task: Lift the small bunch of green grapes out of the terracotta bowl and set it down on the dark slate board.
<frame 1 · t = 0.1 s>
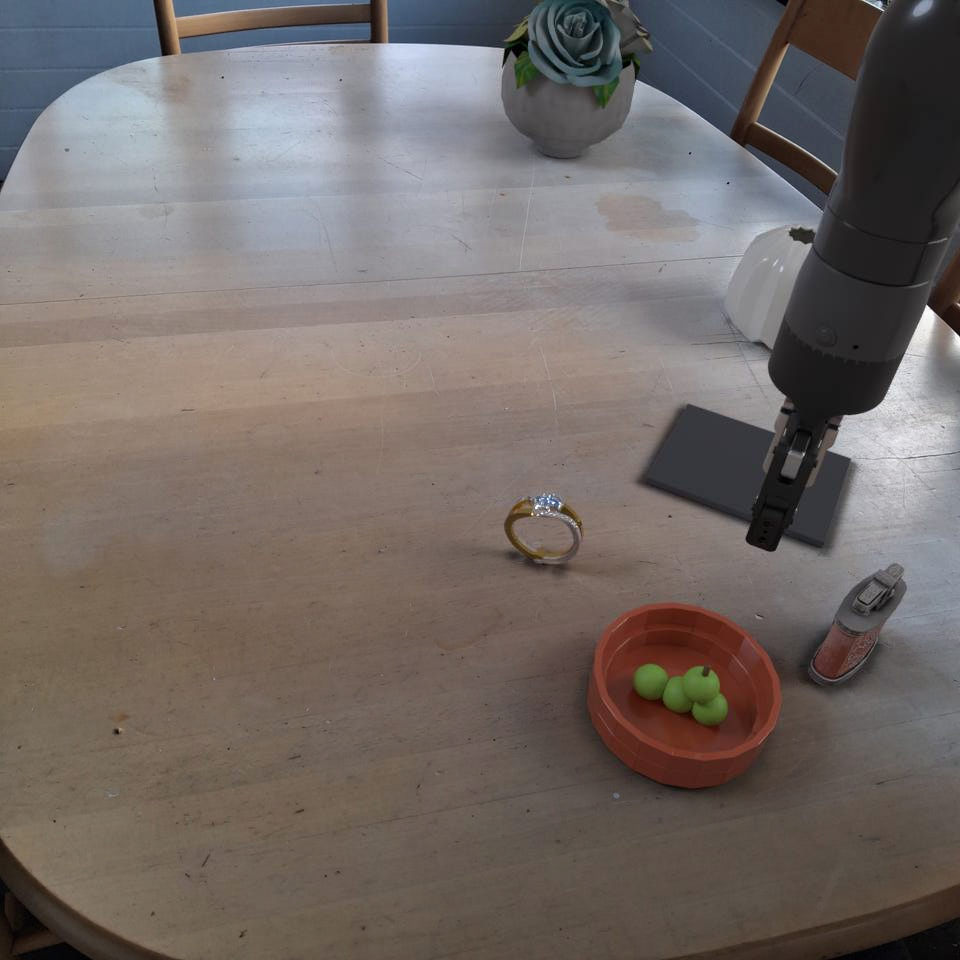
hand: (774, 508, 67), 16 cm above the table, tool pointing down, fingers open, 8 cm apart
flower arrangement: (559, 149, 151), on the table
slate board: (749, 473, 93), on the table
vase: (774, 333, 113), on the table
lighter: (840, 657, 77), on the table
ring: (538, 561, 83), on the table
bowl: (674, 708, 72), on the table
grapes: (676, 704, 72), resting on bowl
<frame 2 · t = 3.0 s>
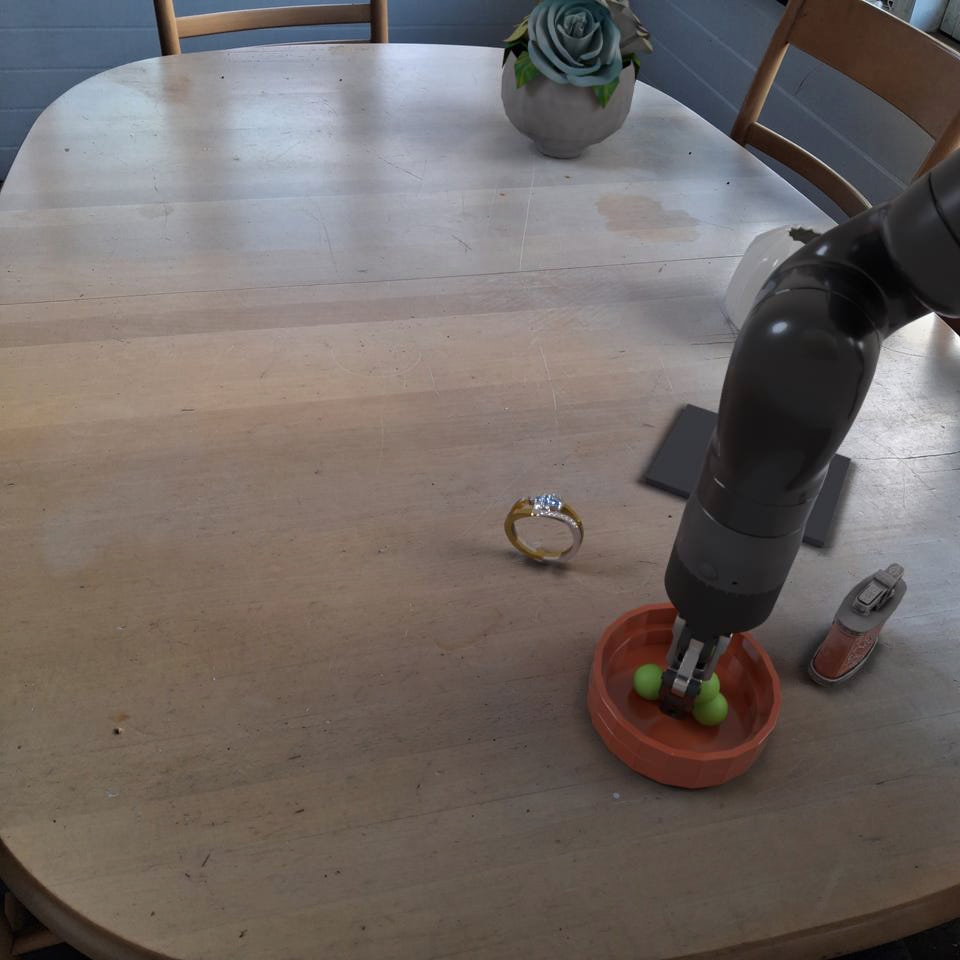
hand: (679, 695, 71), 2 cm above the table, tool pointing down, fingers closed on grapes, 2 cm apart
grapes: (676, 704, 72), resting on bowl, touching gripper
everything else where it was.
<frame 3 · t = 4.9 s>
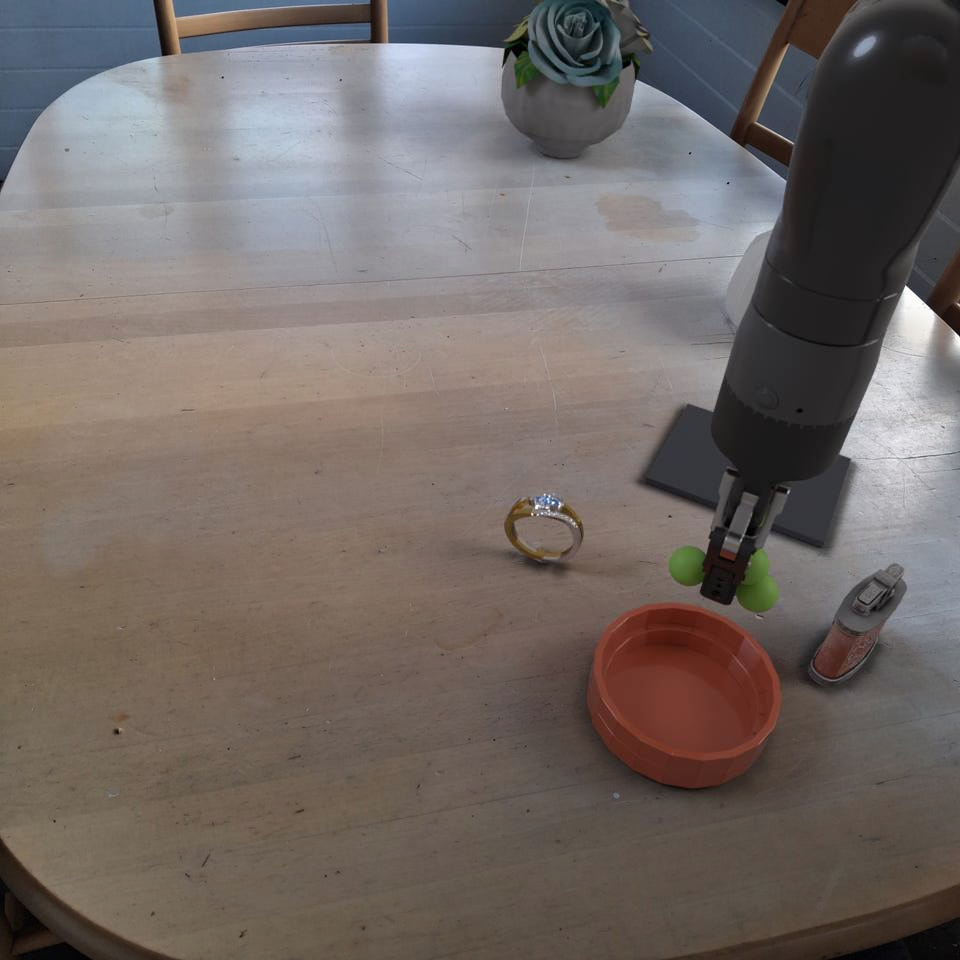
hand: (722, 580, 62), 15 cm above the table, tool pointing down, fingers closed on grapes, 2 cm apart
grapes: (718, 591, 63), point 14 cm above the table, touching gripper
everything else where it was.
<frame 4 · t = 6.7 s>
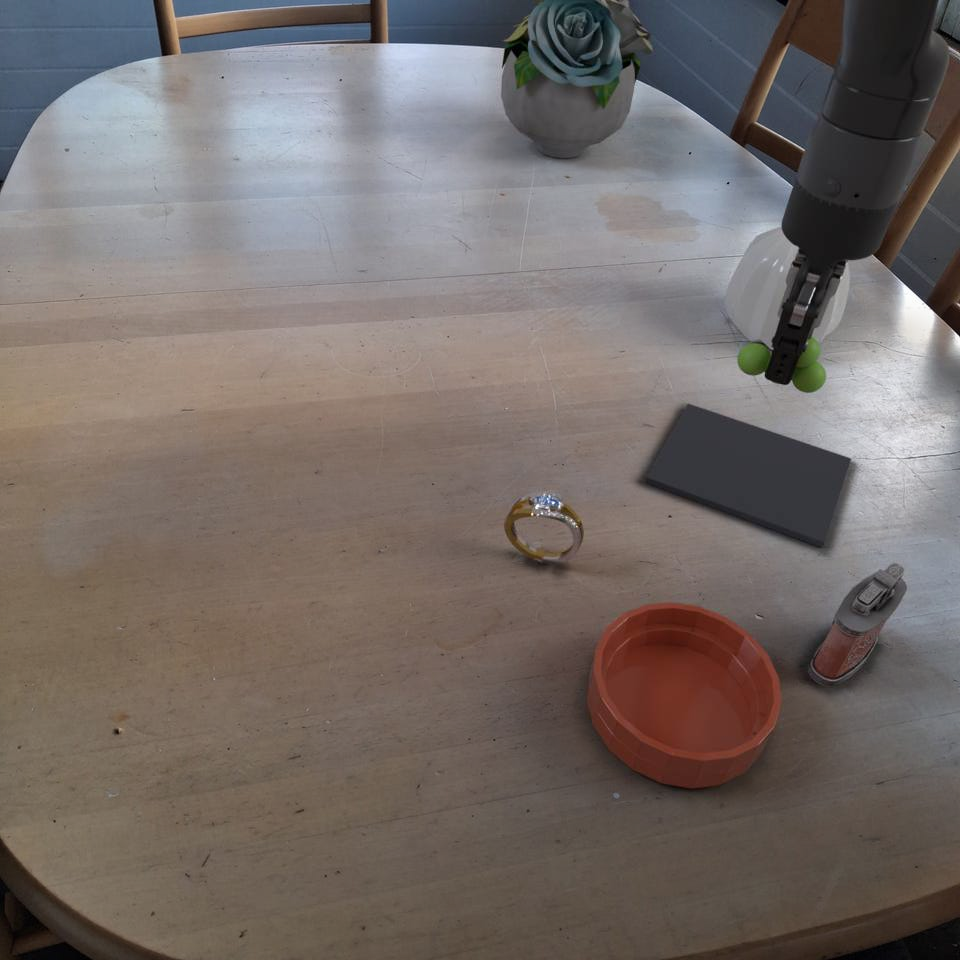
hand: (781, 369, 78), 17 cm above the table, tool pointing down, fingers closed on grapes, 2 cm apart
grapes: (776, 380, 79), point 15 cm above the table, touching gripper
everything else where it was.
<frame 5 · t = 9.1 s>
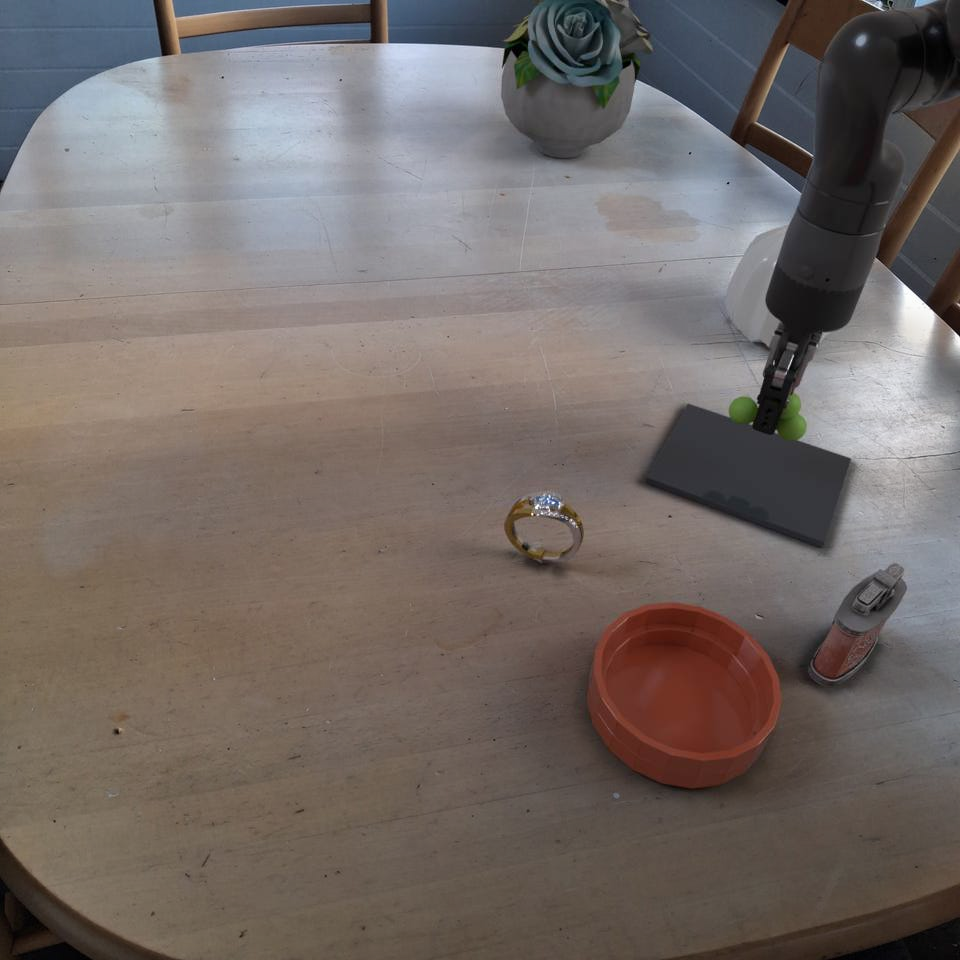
hand: (767, 420, 89), 7 cm above the table, tool pointing down, fingers closed on grapes, 2 cm apart
grapes: (763, 429, 89), point 6 cm above the table, touching gripper
everything else where it was.
when the fingers open (2 cm above the table, at t = 10.7 s): grapes stays where it is and tips over, resting on slate board.
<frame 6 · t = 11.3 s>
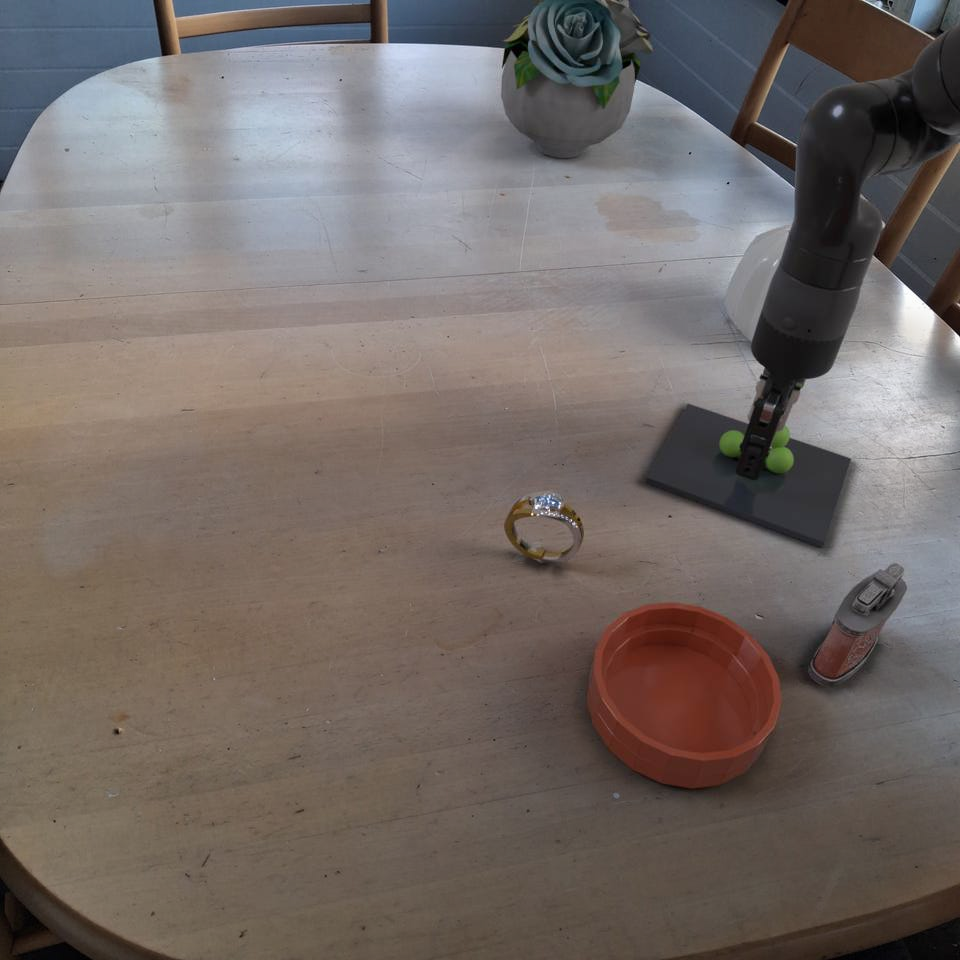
hand: (757, 451, 91), 3 cm above the table, tool pointing down, fingers open, 8 cm apart
grapes: (751, 464, 93), point 1 cm above the table, tilted 38°, touching gripper, slate board
everything else where it was.
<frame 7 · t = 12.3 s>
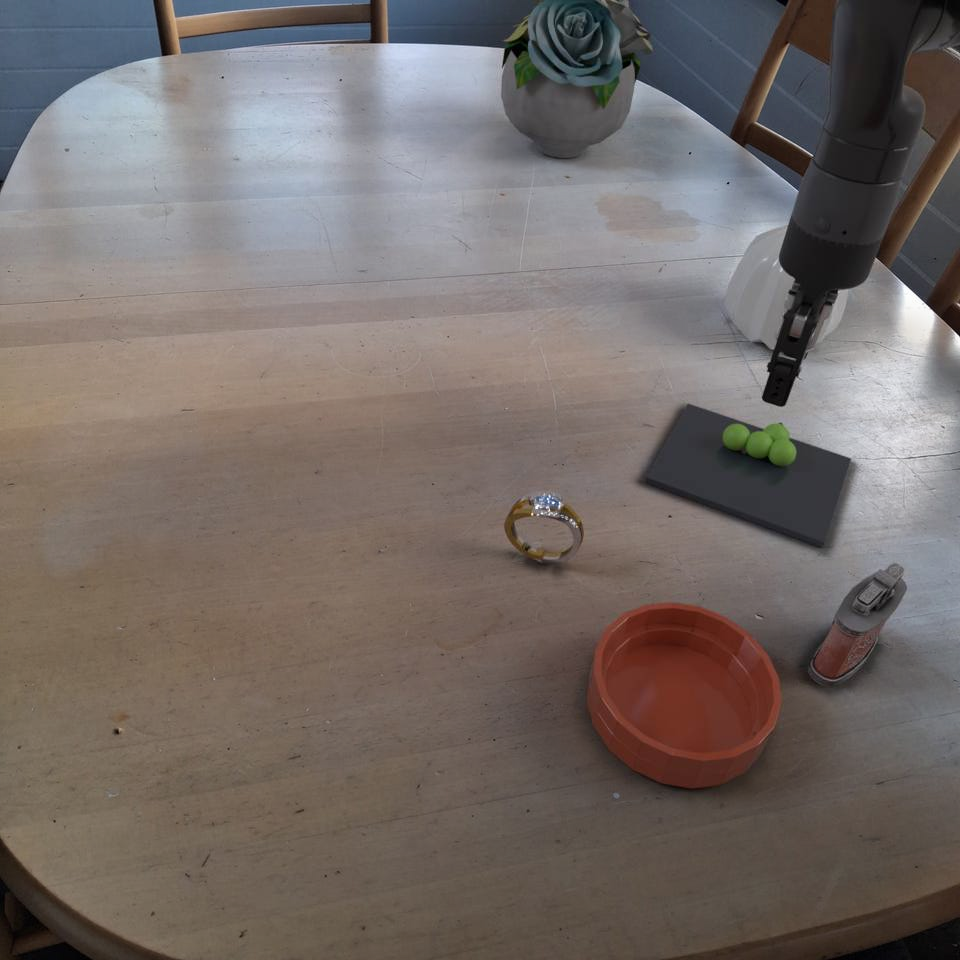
hand: (784, 378, 85), 12 cm above the table, tool pointing down, fingers open, 8 cm apart
grapes: (755, 452, 92), point 2 cm above the table, tilted 90°, touching slate board
everything else where it was.
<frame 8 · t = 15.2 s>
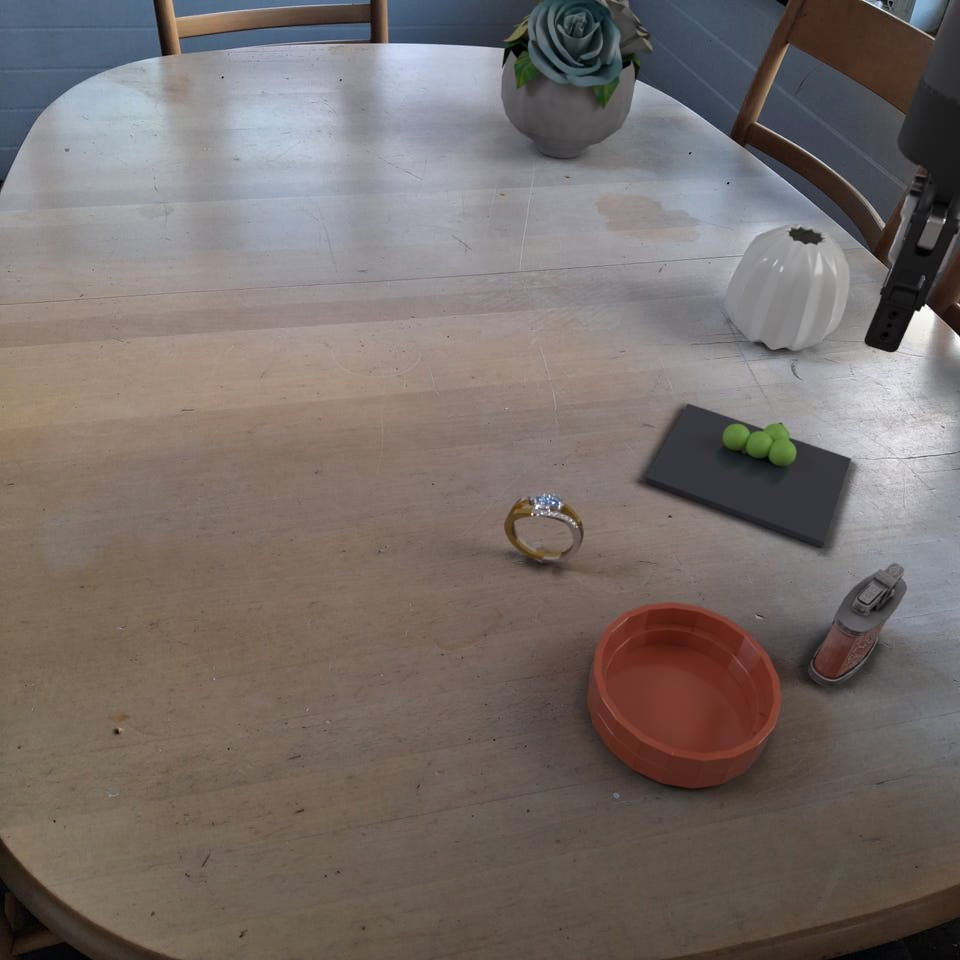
hand: (889, 317, 64), 28 cm above the table, tool pointing down, fingers open, 8 cm apart
nothing on the table moved.
at the end: grapes inside the target area on the slate board (0.8 cm from its centre), point 2.2 cm above the slate board's base; the gripper is holding nothing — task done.
